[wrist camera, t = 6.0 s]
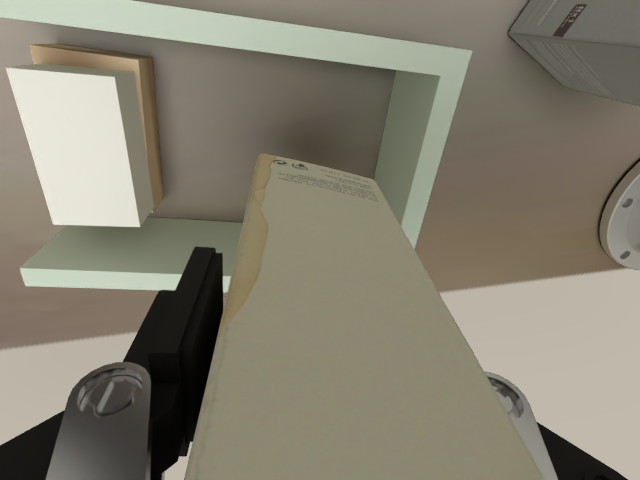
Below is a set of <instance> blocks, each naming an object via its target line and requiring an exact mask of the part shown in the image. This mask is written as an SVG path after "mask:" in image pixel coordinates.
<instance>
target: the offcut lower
mask: <svg viewBox="0 0 640 480" xmlns="http://www.w3.org/2000/svg"><path fill="white" fill-rule="evenodd" d="M29 46H30V51H31V55H32V60H33V64H38V63H44V64H55V65H66V66H78V67H89V68H100V69H112V70H123V71H134V72H135V79H136V86H137V93H138V100H139V107H140V114H141V121H142V128H143V135H144V142H145V149H146V156H147V163H148V170H149V176H150V183H151V190H152V197H153V204H154V208H153V209H152V211H151V212H150V213H153V212H154V210H155V209H156V207H157V206H158V204H159V203H160V201H161V200H162V198H163V184H162V171H161V158H160V145H159V132H158V119H157V106H156V93H155V80H154V68H153V57H148V56H140V55H133V54H126V53H119V52H112V51H105V50H98V49H91V48H84V47H77V46H70V45H63V44H34V45H29Z"/></svg>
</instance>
